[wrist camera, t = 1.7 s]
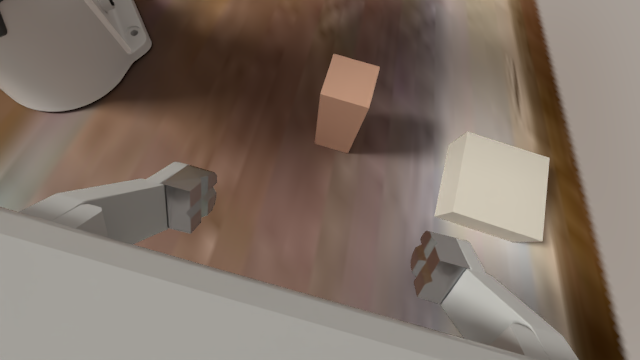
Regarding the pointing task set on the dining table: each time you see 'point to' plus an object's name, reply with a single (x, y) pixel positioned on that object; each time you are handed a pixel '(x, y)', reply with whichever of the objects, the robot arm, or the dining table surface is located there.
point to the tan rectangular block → (344, 102)
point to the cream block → (494, 188)
